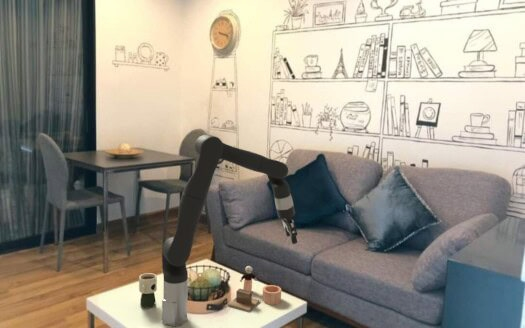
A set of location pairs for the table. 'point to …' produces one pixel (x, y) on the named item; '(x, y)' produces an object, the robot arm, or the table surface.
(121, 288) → the table surface
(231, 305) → the lid
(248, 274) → the grandmother figurine
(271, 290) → the bowl
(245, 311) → the mat
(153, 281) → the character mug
